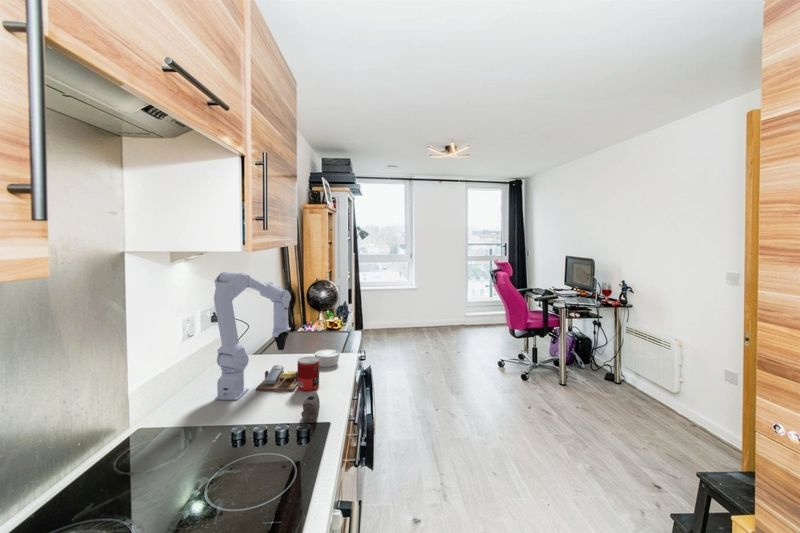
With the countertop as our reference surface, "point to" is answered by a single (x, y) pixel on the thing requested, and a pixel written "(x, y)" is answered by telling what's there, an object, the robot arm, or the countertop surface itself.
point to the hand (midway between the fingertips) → (281, 349)
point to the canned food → (308, 373)
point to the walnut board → (280, 384)
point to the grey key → (273, 374)
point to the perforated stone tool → (311, 407)
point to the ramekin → (327, 357)
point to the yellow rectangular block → (288, 374)
